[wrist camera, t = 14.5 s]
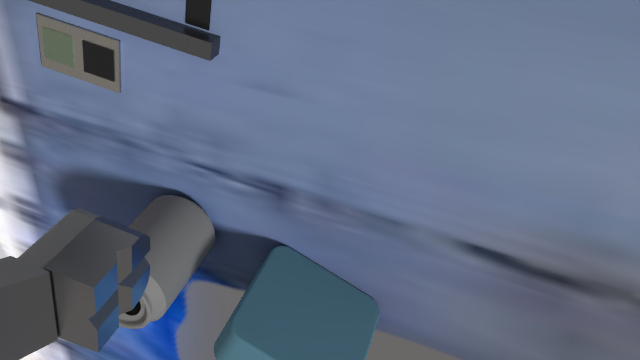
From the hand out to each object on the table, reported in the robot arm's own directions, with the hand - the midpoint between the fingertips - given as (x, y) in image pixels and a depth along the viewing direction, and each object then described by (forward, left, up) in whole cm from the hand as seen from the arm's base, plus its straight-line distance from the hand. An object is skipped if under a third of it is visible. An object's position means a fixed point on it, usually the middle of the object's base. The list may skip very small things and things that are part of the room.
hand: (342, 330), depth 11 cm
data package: (+20, -28, -33) cm, 48 cm away
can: (+8, -37, -33) cm, 50 cm away
